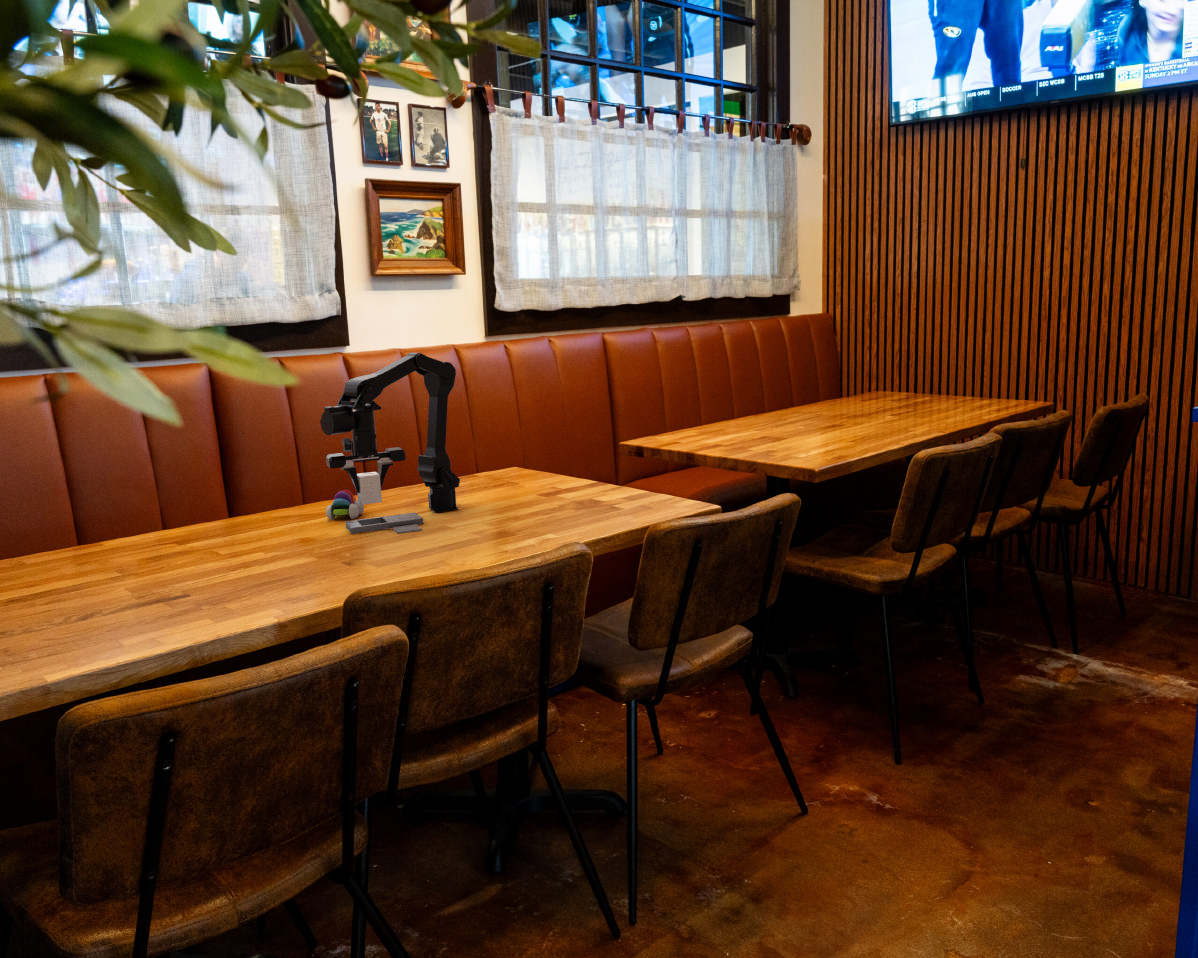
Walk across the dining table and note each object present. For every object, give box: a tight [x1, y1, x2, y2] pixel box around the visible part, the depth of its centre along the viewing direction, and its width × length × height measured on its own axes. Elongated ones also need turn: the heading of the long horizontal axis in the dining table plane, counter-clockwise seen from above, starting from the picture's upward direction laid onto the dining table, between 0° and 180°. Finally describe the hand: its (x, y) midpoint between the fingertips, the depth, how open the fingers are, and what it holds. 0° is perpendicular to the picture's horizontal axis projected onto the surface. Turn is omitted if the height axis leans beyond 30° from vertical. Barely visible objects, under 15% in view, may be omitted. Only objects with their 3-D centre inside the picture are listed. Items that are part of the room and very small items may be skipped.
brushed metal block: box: [356, 471, 383, 505], centre depth 246 cm, size 5×5×7 cm
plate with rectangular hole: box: [344, 512, 424, 535], centre depth 249 cm, size 18×8×2 cm, turn 114°
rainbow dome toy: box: [325, 489, 365, 521], centre depth 260 cm, size 8×10×7 cm
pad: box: [391, 524, 423, 534], centre depth 244 cm, size 6×6×1 cm
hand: (369, 491), depth 246 cm, fingers closed on brushed metal block, 5 cm apart
